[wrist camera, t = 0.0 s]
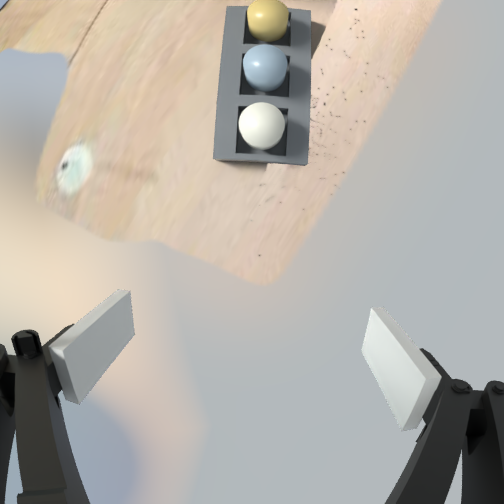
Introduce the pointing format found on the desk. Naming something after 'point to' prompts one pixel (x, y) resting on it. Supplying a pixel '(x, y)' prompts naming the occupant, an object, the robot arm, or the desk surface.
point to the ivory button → (261, 125)
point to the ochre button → (267, 20)
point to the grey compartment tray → (284, 98)
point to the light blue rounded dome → (265, 67)
